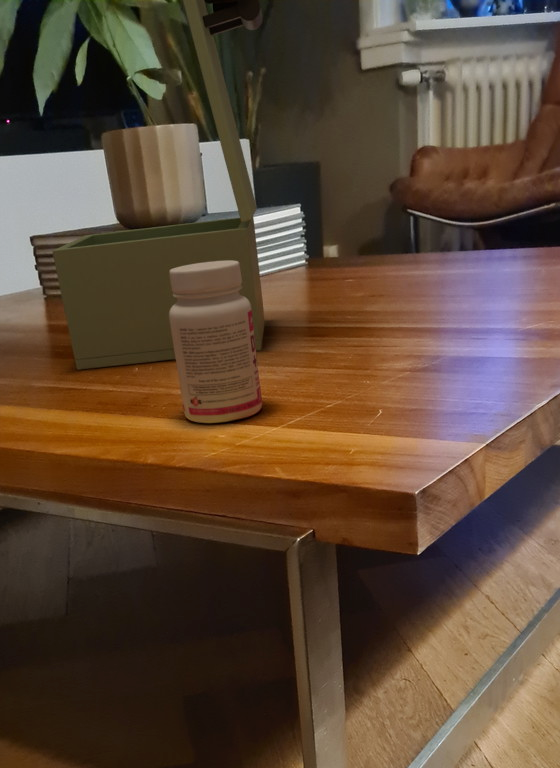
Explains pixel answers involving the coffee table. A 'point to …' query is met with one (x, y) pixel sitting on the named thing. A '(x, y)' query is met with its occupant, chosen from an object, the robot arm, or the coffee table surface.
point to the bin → (144, 286)
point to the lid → (224, 87)
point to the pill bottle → (214, 343)
